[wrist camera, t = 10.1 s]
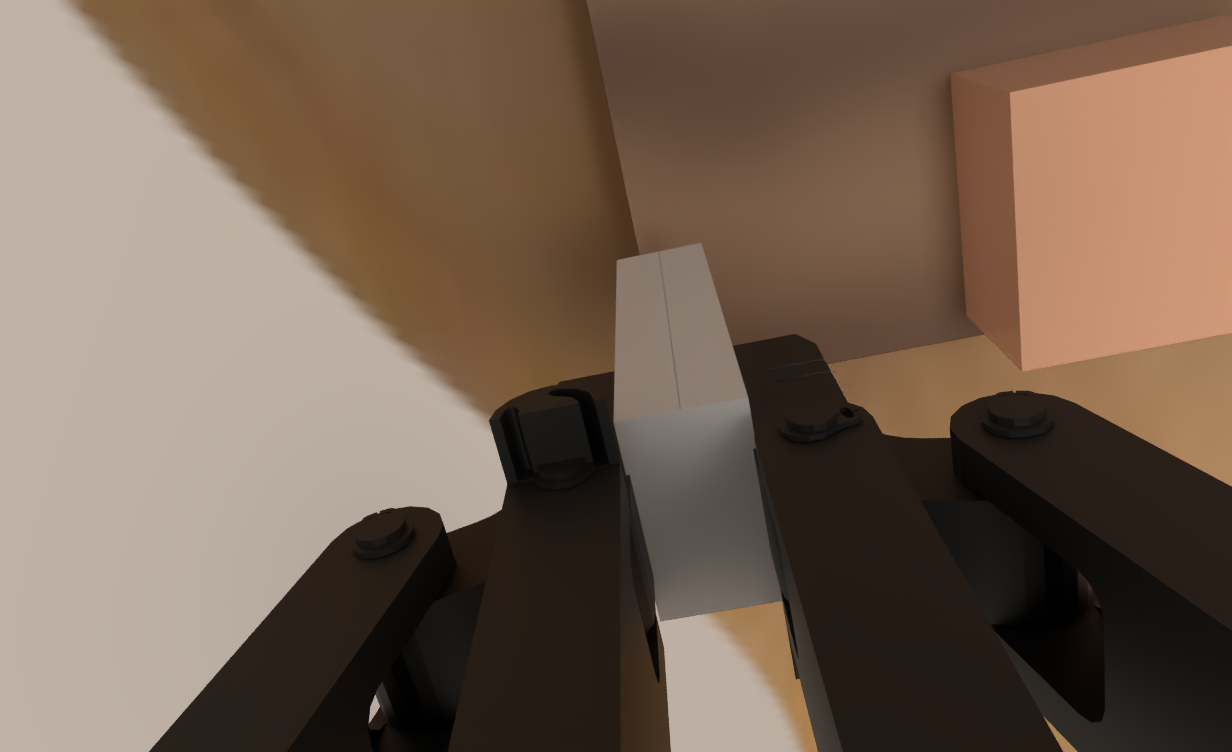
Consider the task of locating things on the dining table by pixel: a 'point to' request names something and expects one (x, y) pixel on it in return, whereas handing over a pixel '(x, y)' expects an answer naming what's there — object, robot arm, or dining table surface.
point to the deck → (822, 147)
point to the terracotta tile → (1098, 194)
